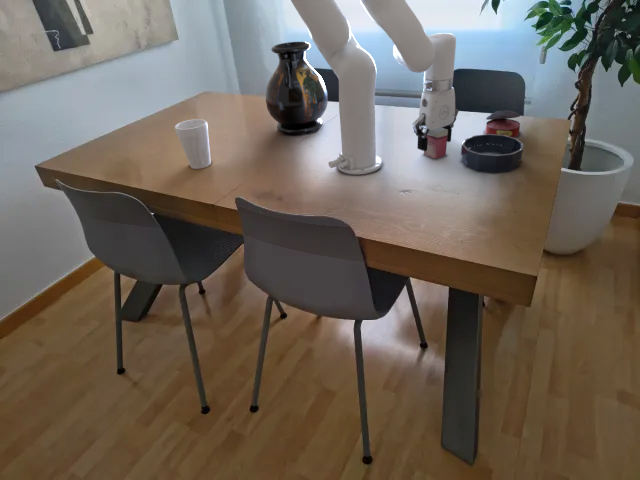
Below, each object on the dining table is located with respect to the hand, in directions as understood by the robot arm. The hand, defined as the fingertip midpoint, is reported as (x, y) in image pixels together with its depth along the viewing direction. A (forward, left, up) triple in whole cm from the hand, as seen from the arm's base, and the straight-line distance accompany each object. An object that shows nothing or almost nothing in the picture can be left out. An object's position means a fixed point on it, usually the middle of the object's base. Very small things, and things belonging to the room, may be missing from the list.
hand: (434, 145), depth 128 cm
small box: (0, 0, -3) cm, 3 cm away
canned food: (+27, -3, -3) cm, 28 cm away
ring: (+7, -14, -3) cm, 16 cm away
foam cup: (-54, +47, -3) cm, 71 cm away
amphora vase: (-14, +51, -3) cm, 53 cm away
